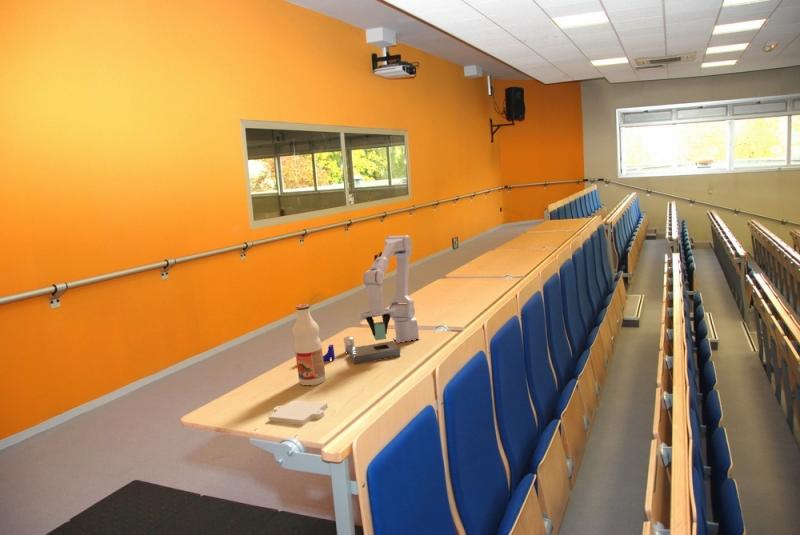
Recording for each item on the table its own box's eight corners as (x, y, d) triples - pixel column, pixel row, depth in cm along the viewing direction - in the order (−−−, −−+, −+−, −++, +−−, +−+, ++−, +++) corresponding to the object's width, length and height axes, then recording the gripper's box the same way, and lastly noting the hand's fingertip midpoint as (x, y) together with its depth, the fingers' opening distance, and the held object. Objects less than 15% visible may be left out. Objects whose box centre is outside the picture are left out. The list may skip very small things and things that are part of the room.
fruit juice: (328, 382, 214) (318, 305, 209) (302, 388, 211) (291, 310, 206) (323, 375, 223) (313, 300, 218) (297, 380, 220) (287, 305, 215)
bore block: (393, 348, 246) (392, 340, 246) (400, 356, 235) (399, 348, 234) (349, 355, 243) (348, 348, 242) (354, 364, 231) (353, 356, 231)
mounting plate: (334, 409, 190) (333, 403, 190) (310, 427, 179) (310, 421, 178) (288, 405, 198) (287, 399, 198) (262, 421, 187) (261, 415, 187)
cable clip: (303, 365, 238) (301, 350, 237) (305, 361, 242) (303, 347, 241) (333, 362, 237) (331, 347, 236) (335, 359, 241) (333, 344, 240)
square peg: (384, 336, 241) (382, 321, 240) (386, 338, 237) (384, 323, 236) (374, 337, 240) (372, 323, 239) (376, 340, 236) (374, 325, 235)
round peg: (354, 349, 250) (352, 335, 249) (355, 352, 246) (354, 338, 245) (344, 351, 249) (343, 337, 248) (346, 354, 245) (344, 339, 244)
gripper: (359, 305, 230) (363, 339, 233) (396, 299, 234) (400, 333, 236) (356, 301, 237) (360, 335, 239) (392, 296, 240) (395, 329, 243)
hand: (379, 334), depth 238 cm, fingers closed on square peg, 4 cm apart
